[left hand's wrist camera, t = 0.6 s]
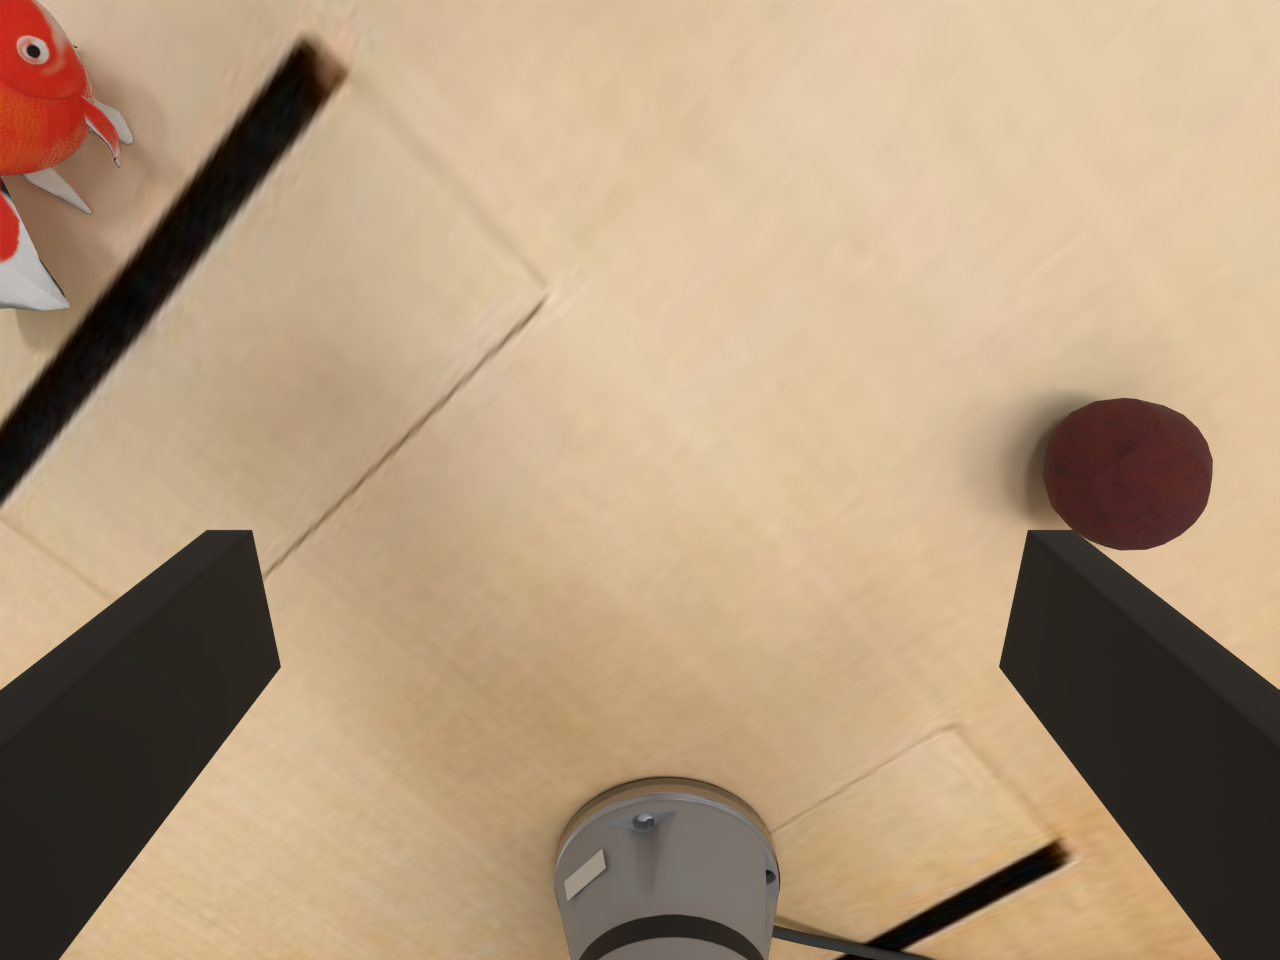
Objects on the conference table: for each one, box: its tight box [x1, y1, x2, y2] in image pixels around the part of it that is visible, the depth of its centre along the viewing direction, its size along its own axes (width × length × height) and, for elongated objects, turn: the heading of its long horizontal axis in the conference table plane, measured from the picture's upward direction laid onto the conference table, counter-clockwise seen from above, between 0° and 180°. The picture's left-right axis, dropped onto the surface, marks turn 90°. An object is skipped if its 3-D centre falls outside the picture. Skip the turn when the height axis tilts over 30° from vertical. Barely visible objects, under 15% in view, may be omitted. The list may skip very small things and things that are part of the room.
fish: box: [0, 0, 133, 311], centre depth 32 cm, size 11×16×10 cm
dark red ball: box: [1043, 398, 1213, 550], centre depth 37 cm, size 7×8×7 cm
